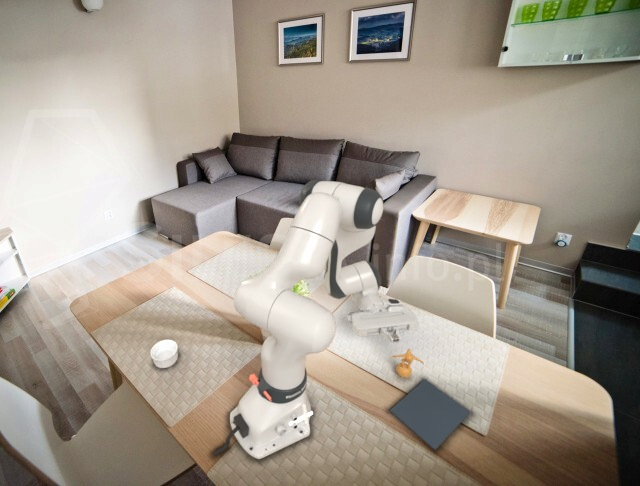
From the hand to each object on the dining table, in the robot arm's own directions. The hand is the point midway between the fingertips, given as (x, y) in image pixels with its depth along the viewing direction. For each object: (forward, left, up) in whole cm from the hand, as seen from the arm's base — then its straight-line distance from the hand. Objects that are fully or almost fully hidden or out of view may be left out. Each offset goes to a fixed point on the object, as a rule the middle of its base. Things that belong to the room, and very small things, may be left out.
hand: (396, 340), depth 97 cm
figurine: (-3, -5, -9) cm, 10 cm away
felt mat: (-7, -15, -8) cm, 19 cm away
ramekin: (-58, +44, -9) cm, 73 cm away
